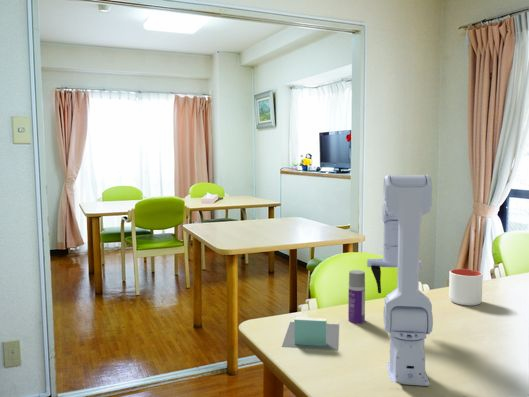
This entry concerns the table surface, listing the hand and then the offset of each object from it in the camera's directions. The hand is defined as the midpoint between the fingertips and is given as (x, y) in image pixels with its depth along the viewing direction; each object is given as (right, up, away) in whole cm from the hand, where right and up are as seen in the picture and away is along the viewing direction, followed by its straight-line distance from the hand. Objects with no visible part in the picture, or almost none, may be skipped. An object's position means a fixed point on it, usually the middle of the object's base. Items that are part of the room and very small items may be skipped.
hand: (393, 292), depth 127 cm
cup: (+30, -8, +24) cm, 40 cm away
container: (-9, -10, +5) cm, 15 cm away
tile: (-24, -11, -11) cm, 29 cm away
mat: (-23, -11, -5) cm, 26 cm away
